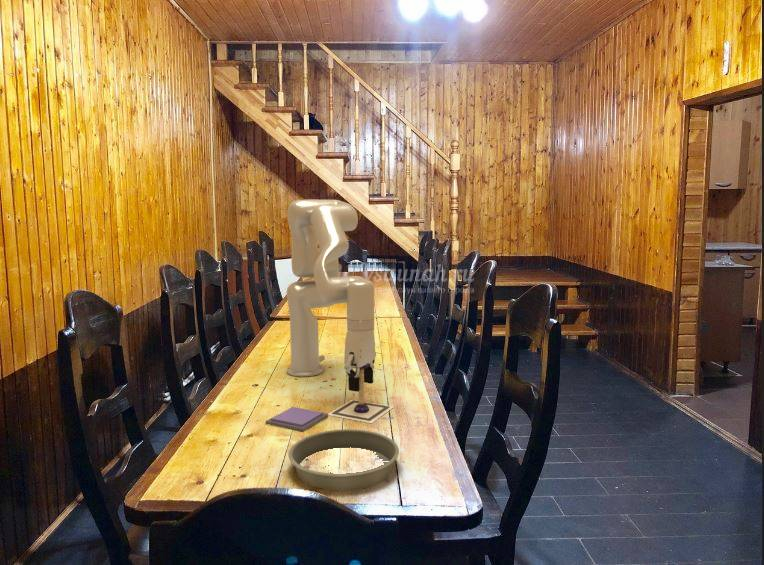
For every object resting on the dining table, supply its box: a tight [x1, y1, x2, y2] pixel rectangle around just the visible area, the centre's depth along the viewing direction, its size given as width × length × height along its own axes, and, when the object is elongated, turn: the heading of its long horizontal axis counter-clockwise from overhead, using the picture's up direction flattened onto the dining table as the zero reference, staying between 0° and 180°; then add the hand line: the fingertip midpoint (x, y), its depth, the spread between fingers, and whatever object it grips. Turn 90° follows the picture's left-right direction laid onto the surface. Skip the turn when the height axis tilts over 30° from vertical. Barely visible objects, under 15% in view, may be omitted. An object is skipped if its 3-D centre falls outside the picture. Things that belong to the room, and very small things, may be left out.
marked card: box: [327, 399, 395, 424], centre depth 172 cm, size 14×14×1 cm
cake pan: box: [288, 428, 400, 491], centre depth 136 cm, size 25×25×4 cm
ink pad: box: [265, 406, 329, 433], centre depth 165 cm, size 12×12×1 cm
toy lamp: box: [353, 363, 369, 413], centre depth 171 cm, size 5×5×17 cm
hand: (361, 386), depth 171 cm, fingers open, 7 cm apart
